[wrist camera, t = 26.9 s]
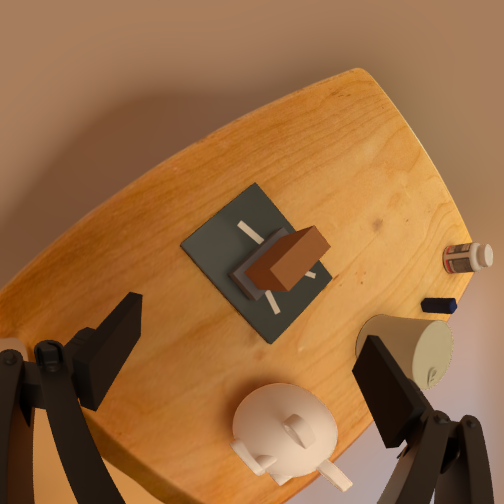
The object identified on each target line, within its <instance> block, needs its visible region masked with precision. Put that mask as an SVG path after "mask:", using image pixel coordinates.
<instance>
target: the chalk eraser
mask: <svg viewBox="0 0 504 504" xmlns="http://www.w3.org/2000/svg"><path fill="white" fill-rule="evenodd" d="M330 247H331V246H330V245H329V244H328V242H327V241H326V240H325V238H324V237H323V236H322V235H321V233H320V232H319V231H318V229H317V228H316V227H315V226H311V227H308V228H305V229H302V230H300V231H297V232H294V233H291V234H289V233H288V232H287V231H286V229H285V228H284V227H281V228H279V229H277V230H275V231H274V232H273V233H271V234H270V235H269V236H268V237H267V238H266V239H265V240H264V241H263V242H262V243H261V244H259V245H258V246H257V247H256V248H255V249H254V250H253V251H252V252H251V253H250V254H249V255H248V256H246V257H245V258H244V259H243V260H242V261H241V262H240V263H239V264H238V265H237V266H236V267H234V268H233V269H232V270H231V271H230V272H229V273H228V275H229V276H230V278H231V279H232V280H233V281H234V282H235V283H236V284H237V286H238V287H239V288H240V289H241V290H242V291H243V292H244V293H245V295H246V296H247V297H248V298H249V299H250V300H256V301H257V300H258V299H259V298H260V297H261V296H262V295H263V294H264V293H265V292H266V291H267V290H272V291H290V290H291V288H292V287H293V286H294V285H295V284H296V283H297V282H298V281H299V280H300V279H301V278H302V277H303V276H304V275H305V274H306V273H307V272H308V271H309V270H310V269H311V268H312V266H313V265H314V264H315V263H316V262H317V261H318V260H319V259H320V258H321V257H322V256H323V255H324V254H325V253H326V251H327V250H328V249H329V248H330Z"/></svg>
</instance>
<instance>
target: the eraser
mask: <svg viewBox="0 0 504 504" xmlns="http://www.w3.org/2000/svg"><path fill="white" fill-rule="evenodd" d="M421 306H422V309H423V312H427V313H444V314H453V313H454V311H455V310H456V309H457V304H456V300H455V298H425V299H424V300H423V301H422V302H421Z"/></svg>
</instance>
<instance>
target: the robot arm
mask: <svg viewBox="0 0 504 504" xmlns="http://www.w3.org/2000/svg"><path fill="white" fill-rule="evenodd" d="M141 312H142V295H141V294H137V293H133V292H129V293H128V294H127V296H126V297H125V298H124V299H123V300H122V301H121V302H120V303H119V304H118V305H117V306H116V308H115V309H114V310H113V311H112V312H111V313H110V314H109V315H108V316H107V317H106V319H105V320H104V321H103V322H102V323H101V324H100V325H99V326H98V328H97V329H96V330H95V329H92V328H89V327H86V328H84V329H82V330H80V331H78V332H77V333H76V334H75V336H74V337H73V338H72V339H71V340H70V341H69V342H68V343H67V344H66V345H65V346H64V347H63V345H62V344H61V343H59V342H57V341H54V340H45V341H41V342H39V343H37V345H36V346H35V347H34V354H35V358H36V363H33V362H27V361H24V360H23V356H22V355H21V353H20V352H18V351H16V350H13V349H7V350H4V351H2V352H1V353H0V504H35V503H34V490H33V431H34V430H33V429H34V416H35V408H40V409H46V412H47V416H48V420H49V424H50V427H51V431H52V434H53V438H54V441H55V444H56V447H57V451H58V454H59V457H60V460H61V462H62V465H63V468H64V471H65V473H66V476H67V478H68V481H69V483H70V486H71V489H72V491H73V493H74V495H75V498H76V500H77V502H78V504H126V503H125V501H124V500H123V498H122V496H121V494H120V493H119V491H118V489H117V488H116V485H115V484H114V482H113V480H112V478H111V476H110V474H109V472H108V470H107V468H106V466H105V464H104V462H103V460H102V458H101V456H100V454H99V452H98V449H97V447H96V445H95V443H94V440H93V438H92V436H91V433H90V431H89V428H88V426H87V423H86V421H85V418H84V416H83V413H82V410H81V408H80V405H81V406H82V407H85V408H87V409H90V410H93V411H95V412H96V411H97V409H98V407H99V406H100V404H101V402H102V400H103V399H104V397H105V395H106V393H107V392H108V390H109V388H110V386H111V385H112V383H113V381H114V379H115V378H116V376H117V374H118V373H119V371H120V369H121V368H122V366H123V364H124V363H125V361H126V359H127V358H128V356H129V354H130V353H131V351H132V349H133V348H134V346H135V344H136V343H137V341H138V340H139V338H140V336H141ZM352 372H353V374H354V377H355V379H356V381H357V383H358V385H359V388H360V390H361V392H362V394H363V396H364V399H365V401H366V403H367V405H368V408H369V410H370V412H371V414H372V417H373V419H374V421H375V423H376V426H377V428H378V430H379V433H380V435H381V437H382V440H383V442H384V444H385V447H386V448H395V447H399V446H400V445H401V443H402V442H403V441H404V440H406V442H407V446H406V447H405V448H404V449H403V451H402V452H401V453H400V454H399V455H398V457H397V458H399V457H400V459H399V461H398V463H397V465H396V467H395V469H394V471H393V474H392V476H391V478H390V480H389V482H388V484H387V485H386V487H385V489H384V491H383V493H382V495H381V497H380V499H379V501H378V502H377V504H430V501H431V498H432V495H433V492H434V489H435V496H434V504H494V497H493V488H492V480H491V473H490V468H489V461H488V456H487V450H486V445H485V440H484V436H483V431H482V427H481V424H480V422H479V421H478V419H477V418H475V417H474V416H471V415H465V416H463V418H462V419H461V420H460V422H455V421H451V420H450V418H449V416H447V415H446V414H445V413H443V412H442V411H438V410H434V409H433V408H432V406H431V405H430V403H429V402H428V400H427V399H426V397H425V396H424V394H423V393H422V391H420V388H419V387H418V385H417V384H416V383H415V382H414V381H413V380H411V379H410V378H407V377H406V375H405V374H404V372H403V371H402V369H401V368H400V366H399V365H398V363H397V362H396V360H395V359H394V358H393V356H392V355H391V353H390V352H389V350H388V349H387V347H386V346H385V345H384V343H383V342H382V340H381V339H380V337H379V336H376V335H367V337H366V340H365V342H364V345H363V347H362V349H361V352H360V354H359V356H358V359H357V361H356V363H355V365H354V368H353V370H352ZM78 398H79V400H80V405H79V402H78Z"/></svg>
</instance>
